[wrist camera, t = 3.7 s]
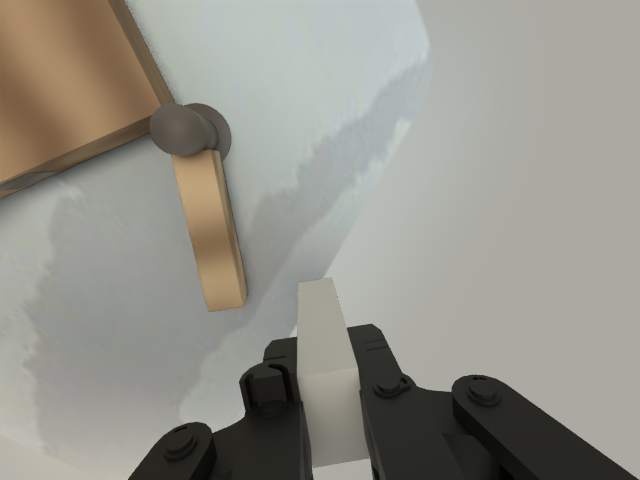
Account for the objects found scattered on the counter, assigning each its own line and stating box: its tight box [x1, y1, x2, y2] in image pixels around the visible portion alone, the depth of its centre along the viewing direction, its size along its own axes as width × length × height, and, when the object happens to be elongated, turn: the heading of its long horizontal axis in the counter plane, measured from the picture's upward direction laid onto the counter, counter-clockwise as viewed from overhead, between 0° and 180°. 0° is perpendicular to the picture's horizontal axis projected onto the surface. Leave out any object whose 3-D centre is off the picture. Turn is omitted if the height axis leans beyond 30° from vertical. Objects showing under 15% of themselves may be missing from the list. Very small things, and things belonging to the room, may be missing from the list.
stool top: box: [0, 0, 231, 198], centre depth 19 cm, size 19×16×8 cm
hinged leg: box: [149, 103, 248, 312], centre depth 22 cm, size 14×3×4 cm, turn 8°
